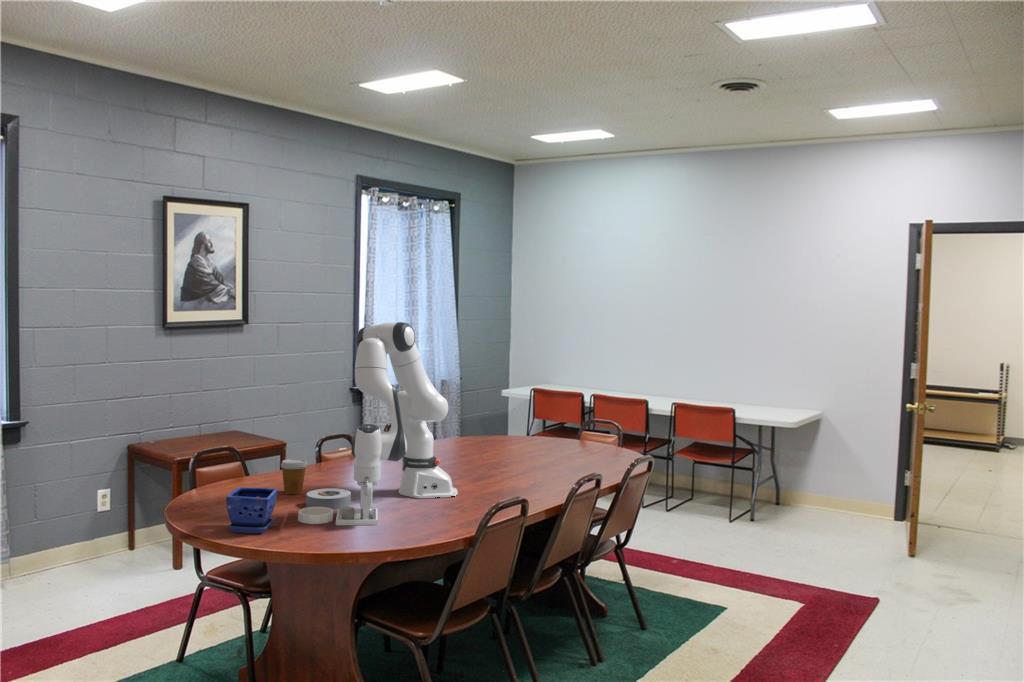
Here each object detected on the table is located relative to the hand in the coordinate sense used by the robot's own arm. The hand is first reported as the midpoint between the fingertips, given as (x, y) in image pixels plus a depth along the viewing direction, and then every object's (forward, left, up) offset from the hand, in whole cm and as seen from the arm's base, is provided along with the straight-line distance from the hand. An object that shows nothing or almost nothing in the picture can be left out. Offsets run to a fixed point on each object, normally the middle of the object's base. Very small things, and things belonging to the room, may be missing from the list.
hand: (365, 515), depth 275 cm
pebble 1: (+6, 0, -1) cm, 6 cm away
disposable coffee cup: (+27, -40, -2) cm, 48 cm away
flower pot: (+35, +8, -2) cm, 36 cm away
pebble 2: (0, 0, -1) cm, 1 cm away
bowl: (+16, 0, -2) cm, 16 cm away
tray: (+3, 0, -2) cm, 3 cm away
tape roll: (+13, -20, -2) cm, 24 cm away
